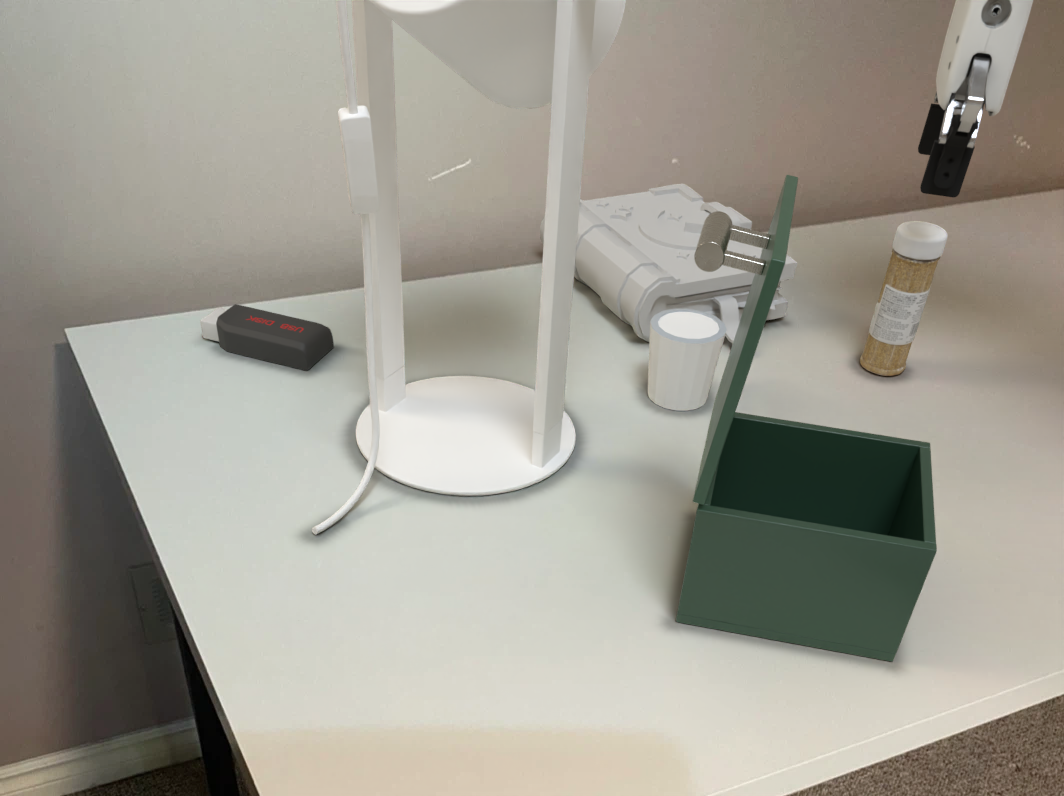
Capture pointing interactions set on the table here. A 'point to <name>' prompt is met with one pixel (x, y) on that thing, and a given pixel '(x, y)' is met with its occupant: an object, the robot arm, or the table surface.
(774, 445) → the green box
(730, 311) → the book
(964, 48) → the robot arm
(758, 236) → the lid
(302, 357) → the usb drive
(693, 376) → the white cup
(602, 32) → the desk lamp
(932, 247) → the sprinkles bottle
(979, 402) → the table surface
